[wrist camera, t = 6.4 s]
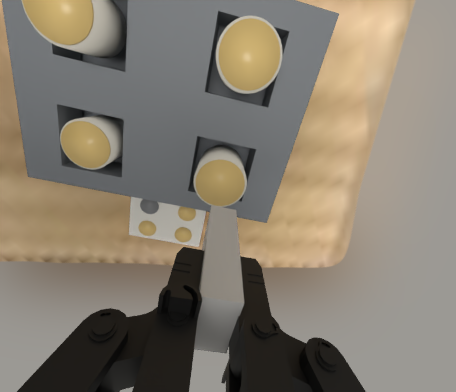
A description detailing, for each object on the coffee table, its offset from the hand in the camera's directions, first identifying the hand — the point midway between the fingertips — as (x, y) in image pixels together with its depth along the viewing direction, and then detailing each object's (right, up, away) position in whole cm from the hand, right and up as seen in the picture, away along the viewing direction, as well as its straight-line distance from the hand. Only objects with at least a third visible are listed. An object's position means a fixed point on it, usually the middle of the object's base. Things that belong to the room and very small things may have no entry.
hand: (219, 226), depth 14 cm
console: (-5, +12, +12) cm, 18 cm away
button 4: (+2, +14, +7) cm, 16 cm away
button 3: (0, +5, +11) cm, 12 cm away
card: (-8, -1, +18) cm, 19 cm away
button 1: (-13, +9, +12) cm, 20 cm away
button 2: (-11, +17, +6) cm, 20 cm away
